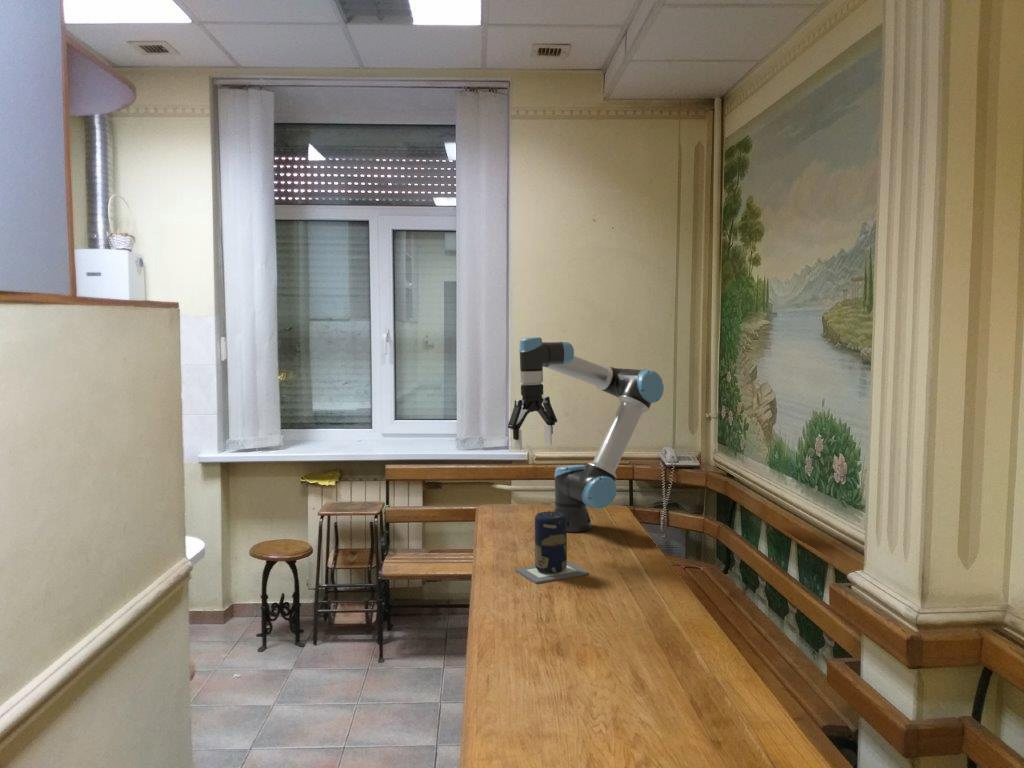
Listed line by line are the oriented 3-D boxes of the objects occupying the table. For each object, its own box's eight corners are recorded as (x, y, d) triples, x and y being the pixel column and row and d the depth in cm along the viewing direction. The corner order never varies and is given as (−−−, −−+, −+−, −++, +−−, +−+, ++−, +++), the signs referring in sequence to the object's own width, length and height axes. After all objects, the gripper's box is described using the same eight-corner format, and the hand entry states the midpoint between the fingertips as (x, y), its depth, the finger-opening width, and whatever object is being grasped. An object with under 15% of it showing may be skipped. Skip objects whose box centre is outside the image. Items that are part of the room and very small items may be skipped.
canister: (567, 565, 221) (567, 507, 220) (566, 575, 212) (566, 514, 211) (536, 564, 222) (535, 506, 221) (533, 574, 213) (533, 514, 212)
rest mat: (566, 562, 226) (566, 560, 226) (588, 574, 215) (588, 571, 215) (515, 570, 218) (515, 568, 218) (535, 583, 207) (535, 581, 207)
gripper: (551, 380, 252) (552, 440, 254) (495, 386, 236) (497, 450, 238) (566, 381, 246) (567, 443, 248) (510, 386, 230) (512, 452, 232)
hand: (533, 446), depth 243 cm, fingers open, 13 cm apart
